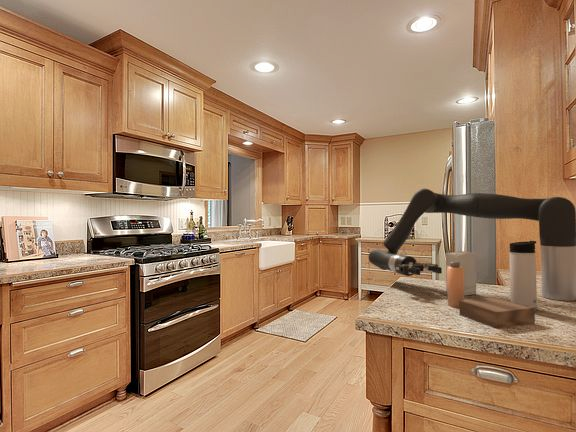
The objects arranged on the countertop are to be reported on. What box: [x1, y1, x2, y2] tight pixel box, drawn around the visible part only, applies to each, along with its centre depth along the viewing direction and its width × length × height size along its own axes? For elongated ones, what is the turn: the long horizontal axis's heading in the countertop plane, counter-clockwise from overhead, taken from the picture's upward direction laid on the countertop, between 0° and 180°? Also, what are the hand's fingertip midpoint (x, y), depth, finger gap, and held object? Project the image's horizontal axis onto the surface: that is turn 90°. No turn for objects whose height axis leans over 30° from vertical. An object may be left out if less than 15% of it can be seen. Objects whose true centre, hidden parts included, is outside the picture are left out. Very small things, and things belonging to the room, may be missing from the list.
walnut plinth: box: [459, 296, 536, 329], centre depth 87 cm, size 12×12×4 cm
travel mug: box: [508, 240, 538, 312], centre depth 96 cm, size 6×7×20 cm
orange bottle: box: [446, 262, 465, 309], centre depth 100 cm, size 5×5×14 cm
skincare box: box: [445, 250, 477, 297], centre depth 115 cm, size 8×6×15 cm
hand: (430, 271), depth 111 cm, fingers open, 8 cm apart
